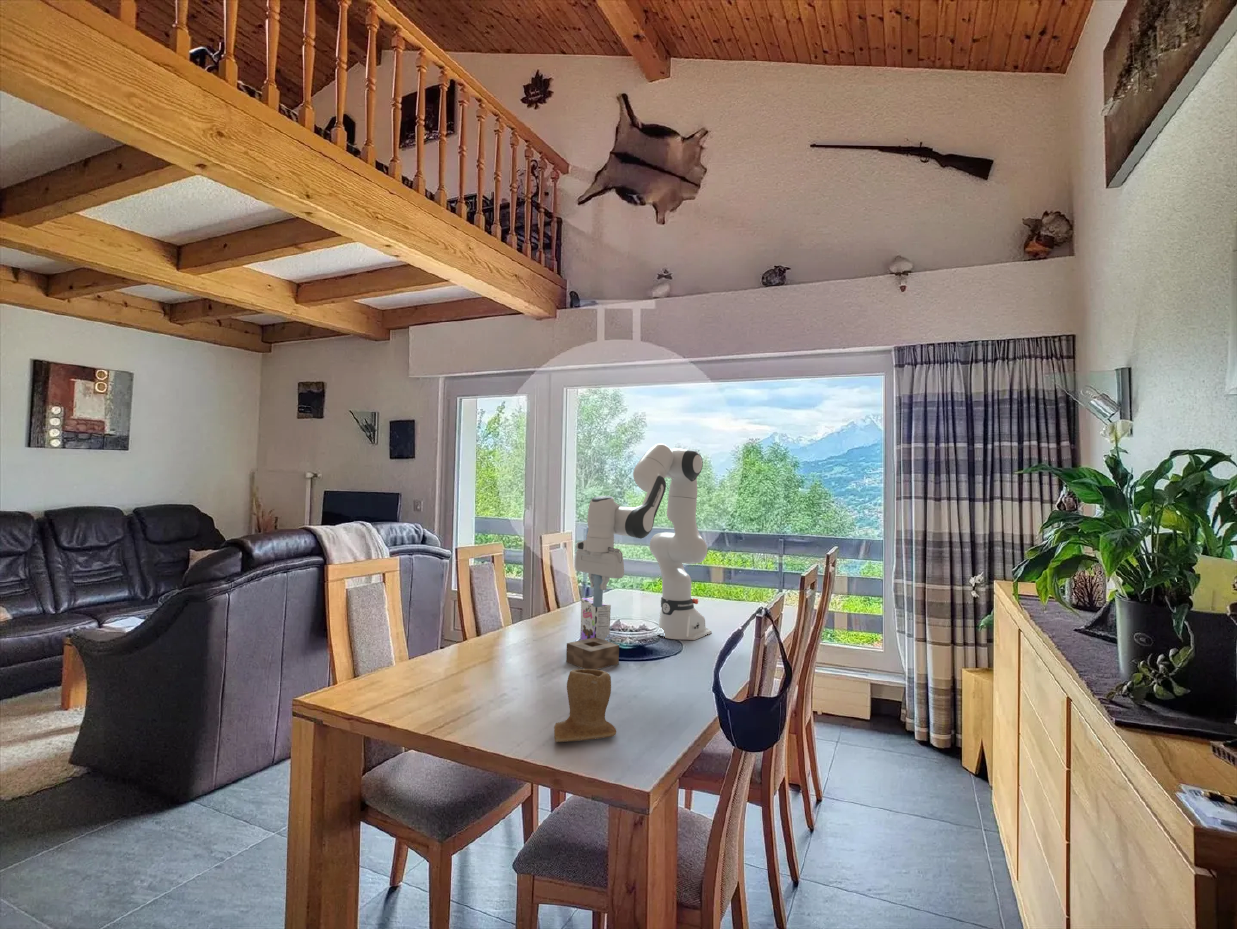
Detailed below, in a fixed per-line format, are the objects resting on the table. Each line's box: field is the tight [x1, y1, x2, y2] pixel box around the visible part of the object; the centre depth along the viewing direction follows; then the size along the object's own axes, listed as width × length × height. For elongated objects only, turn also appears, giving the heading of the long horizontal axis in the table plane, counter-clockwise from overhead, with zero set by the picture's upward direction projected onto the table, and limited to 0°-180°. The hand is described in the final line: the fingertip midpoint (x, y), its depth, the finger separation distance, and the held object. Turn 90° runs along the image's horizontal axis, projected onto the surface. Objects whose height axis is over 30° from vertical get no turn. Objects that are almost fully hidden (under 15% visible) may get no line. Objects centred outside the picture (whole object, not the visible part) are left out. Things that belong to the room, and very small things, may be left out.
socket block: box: [565, 637, 620, 670], centre depth 201 cm, size 12×12×6 cm
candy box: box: [579, 596, 612, 641], centre depth 218 cm, size 14×6×16 cm, turn 25°
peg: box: [592, 574, 604, 607], centre depth 201 cm, size 3×3×12 cm
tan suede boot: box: [553, 668, 617, 743], centre depth 145 cm, size 15×12×15 cm
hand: (598, 588), depth 201 cm, fingers closed on peg, 3 cm apart
